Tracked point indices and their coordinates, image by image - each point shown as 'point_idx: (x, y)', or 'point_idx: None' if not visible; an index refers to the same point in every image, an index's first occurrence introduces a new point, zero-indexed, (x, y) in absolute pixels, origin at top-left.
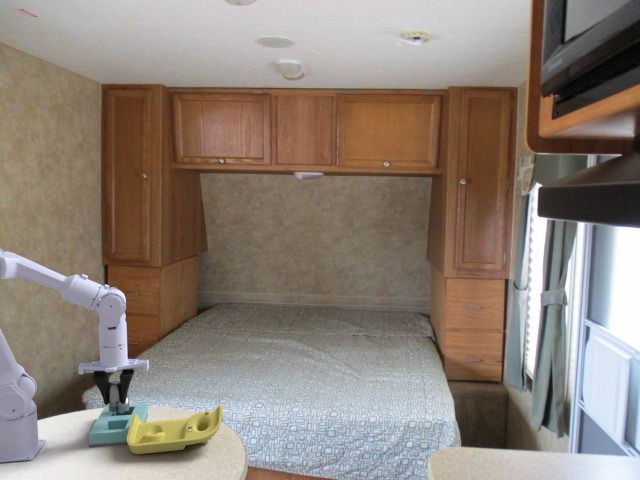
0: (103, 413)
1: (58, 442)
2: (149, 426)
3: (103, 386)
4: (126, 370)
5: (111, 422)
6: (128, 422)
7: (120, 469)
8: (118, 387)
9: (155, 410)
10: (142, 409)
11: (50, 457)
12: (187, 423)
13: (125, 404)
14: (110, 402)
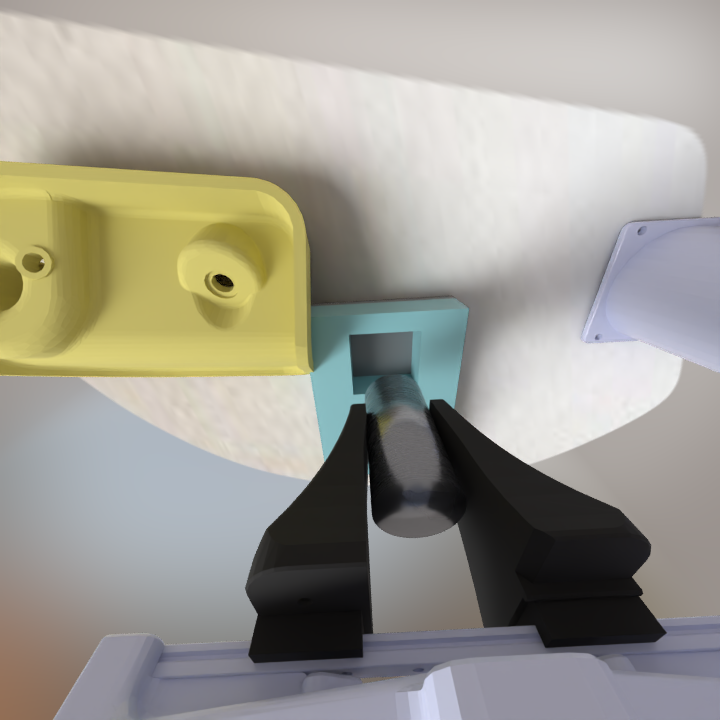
0: None
1: (543, 333)
2: (251, 326)
3: (492, 470)
4: (317, 646)
5: None
6: (349, 376)
7: (306, 110)
8: (385, 472)
9: (318, 468)
10: (330, 448)
11: (563, 241)
12: (53, 294)
13: None
14: (418, 403)
